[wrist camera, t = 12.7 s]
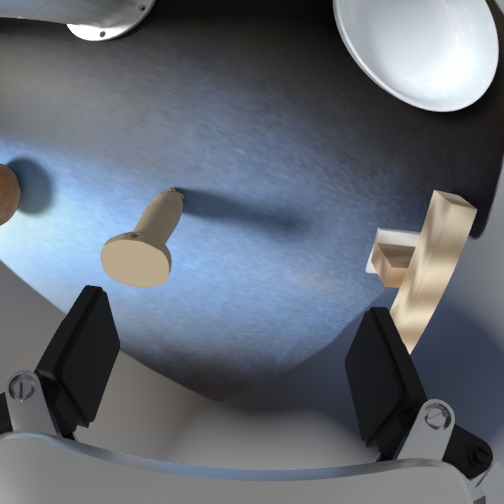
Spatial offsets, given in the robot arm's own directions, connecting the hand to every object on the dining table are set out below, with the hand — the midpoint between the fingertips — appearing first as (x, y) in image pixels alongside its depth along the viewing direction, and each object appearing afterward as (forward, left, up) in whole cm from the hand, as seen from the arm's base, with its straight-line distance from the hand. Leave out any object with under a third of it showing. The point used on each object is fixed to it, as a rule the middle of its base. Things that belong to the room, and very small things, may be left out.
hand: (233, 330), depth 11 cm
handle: (+7, -9, -28) cm, 31 cm away
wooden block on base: (+12, +23, -28) cm, 38 cm away
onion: (+5, -37, -29) cm, 47 cm away
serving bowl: (-19, +17, -29) cm, 38 cm away
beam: (+12, +23, -22) cm, 34 cm away
